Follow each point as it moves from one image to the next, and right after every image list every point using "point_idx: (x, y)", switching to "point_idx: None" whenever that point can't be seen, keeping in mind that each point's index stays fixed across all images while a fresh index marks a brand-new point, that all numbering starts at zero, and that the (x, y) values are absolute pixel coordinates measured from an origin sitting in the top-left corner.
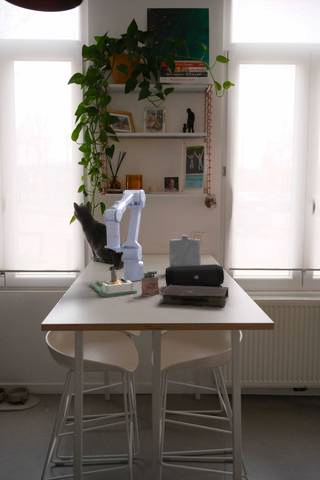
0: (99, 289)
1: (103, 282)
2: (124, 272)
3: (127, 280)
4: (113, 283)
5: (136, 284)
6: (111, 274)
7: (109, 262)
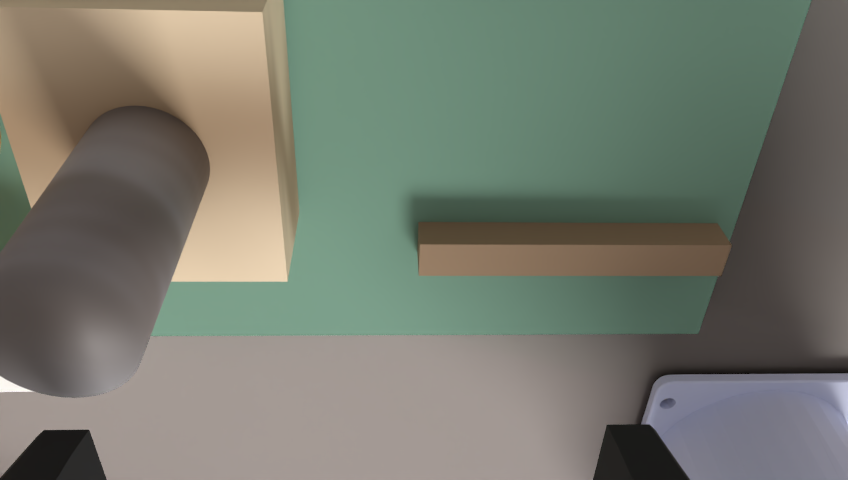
0: None
1: (752, 48)
2: (816, 475)
3: None
4: (8, 106)
5: (439, 426)
6: (51, 202)
7: (625, 478)
